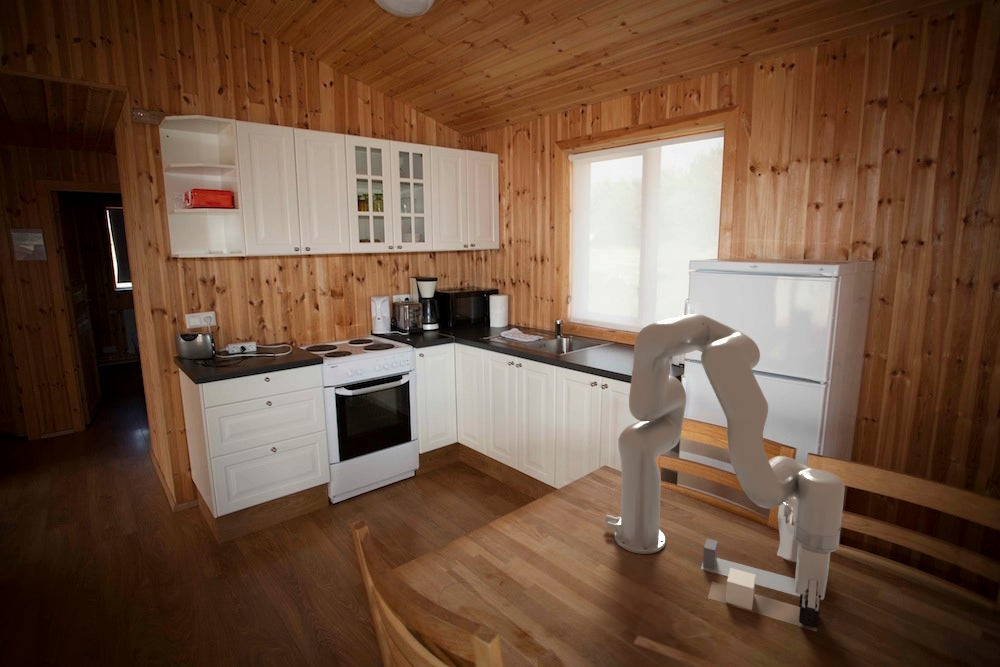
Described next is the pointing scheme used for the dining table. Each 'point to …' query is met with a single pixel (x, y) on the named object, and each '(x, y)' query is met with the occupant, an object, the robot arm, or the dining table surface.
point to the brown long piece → (763, 606)
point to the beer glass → (787, 530)
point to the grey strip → (761, 578)
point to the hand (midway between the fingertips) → (808, 615)
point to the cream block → (740, 588)
